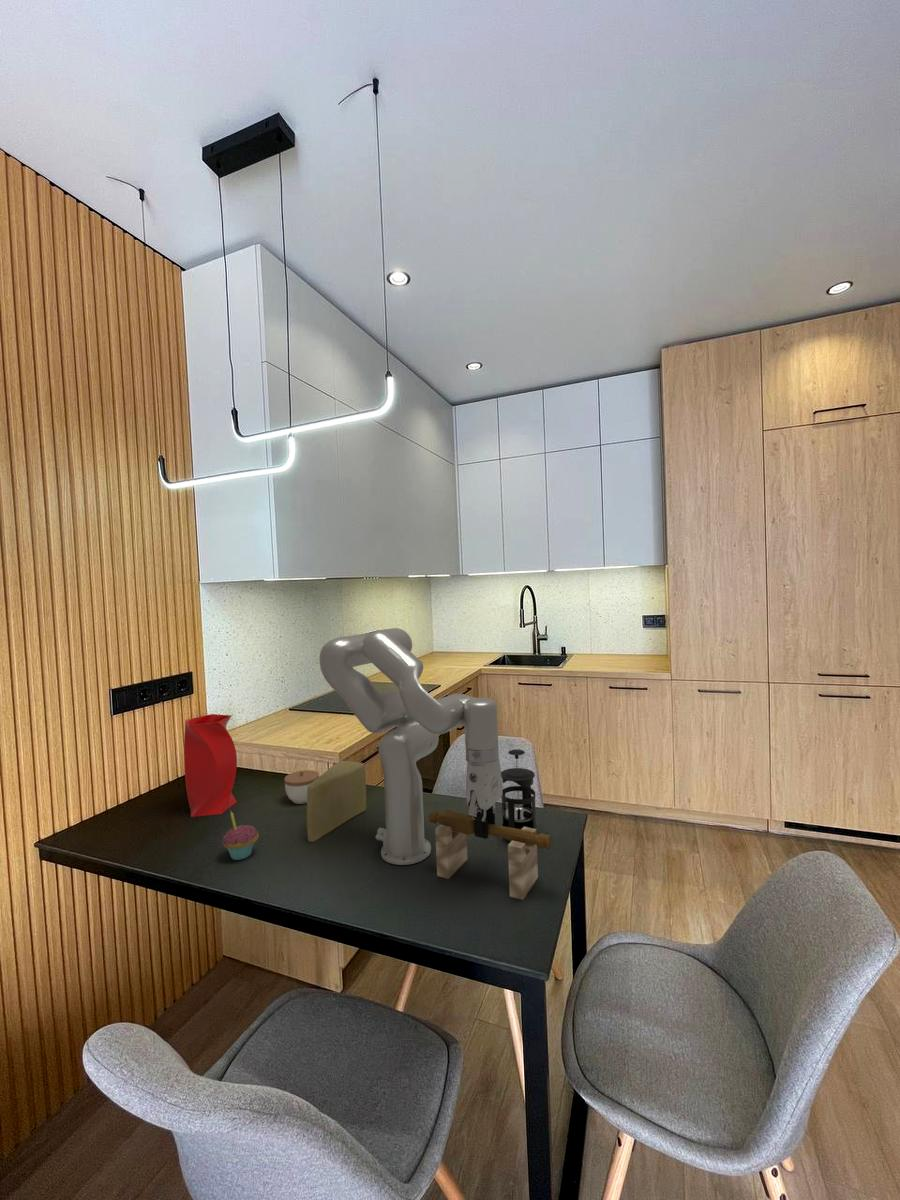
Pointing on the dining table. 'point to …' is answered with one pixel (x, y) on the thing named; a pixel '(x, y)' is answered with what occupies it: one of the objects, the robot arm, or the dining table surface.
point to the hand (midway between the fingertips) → (485, 832)
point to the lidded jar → (299, 785)
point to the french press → (518, 815)
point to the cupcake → (240, 840)
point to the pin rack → (519, 859)
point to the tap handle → (489, 829)
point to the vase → (209, 764)
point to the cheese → (335, 798)
